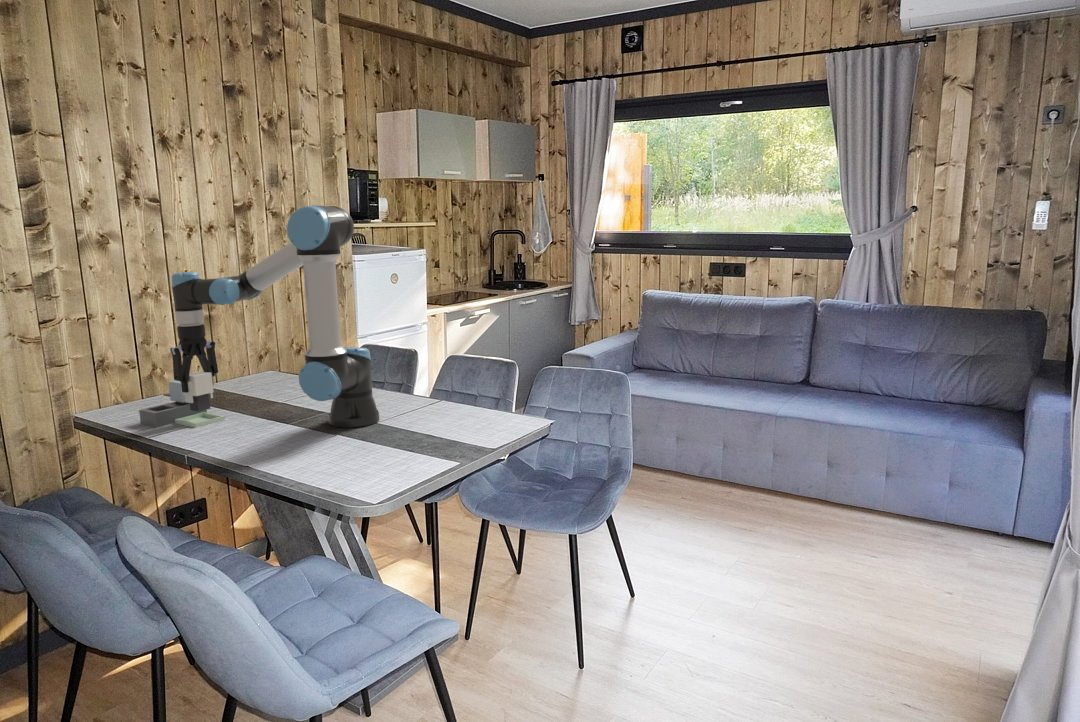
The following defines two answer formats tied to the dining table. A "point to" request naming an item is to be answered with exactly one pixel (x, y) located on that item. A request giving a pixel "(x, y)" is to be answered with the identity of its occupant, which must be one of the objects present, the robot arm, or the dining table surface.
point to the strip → (168, 409)
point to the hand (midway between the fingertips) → (199, 399)
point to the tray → (199, 419)
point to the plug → (200, 390)
